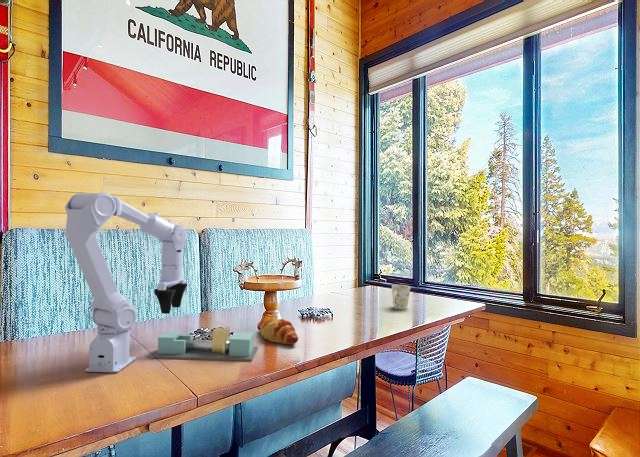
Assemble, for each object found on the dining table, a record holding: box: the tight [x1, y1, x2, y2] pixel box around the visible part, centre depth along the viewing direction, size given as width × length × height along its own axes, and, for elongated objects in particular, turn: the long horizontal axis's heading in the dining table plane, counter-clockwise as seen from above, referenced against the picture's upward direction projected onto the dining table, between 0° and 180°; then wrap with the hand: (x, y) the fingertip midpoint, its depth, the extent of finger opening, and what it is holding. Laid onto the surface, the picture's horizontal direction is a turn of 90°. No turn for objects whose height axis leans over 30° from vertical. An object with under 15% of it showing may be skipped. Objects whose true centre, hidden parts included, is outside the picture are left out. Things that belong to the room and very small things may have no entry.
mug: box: [391, 284, 411, 311], centre depth 168 cm, size 8×13×10 cm, turn 148°
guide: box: [153, 330, 259, 362], centre depth 105 cm, size 26×10×5 cm, turn 90°
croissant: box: [260, 318, 299, 345], centre depth 120 cm, size 21×10×8 cm, turn 38°
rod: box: [186, 327, 231, 354], centre depth 105 cm, size 16×5×6 cm, turn 90°
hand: (171, 310), depth 111 cm, fingers open, 7 cm apart
